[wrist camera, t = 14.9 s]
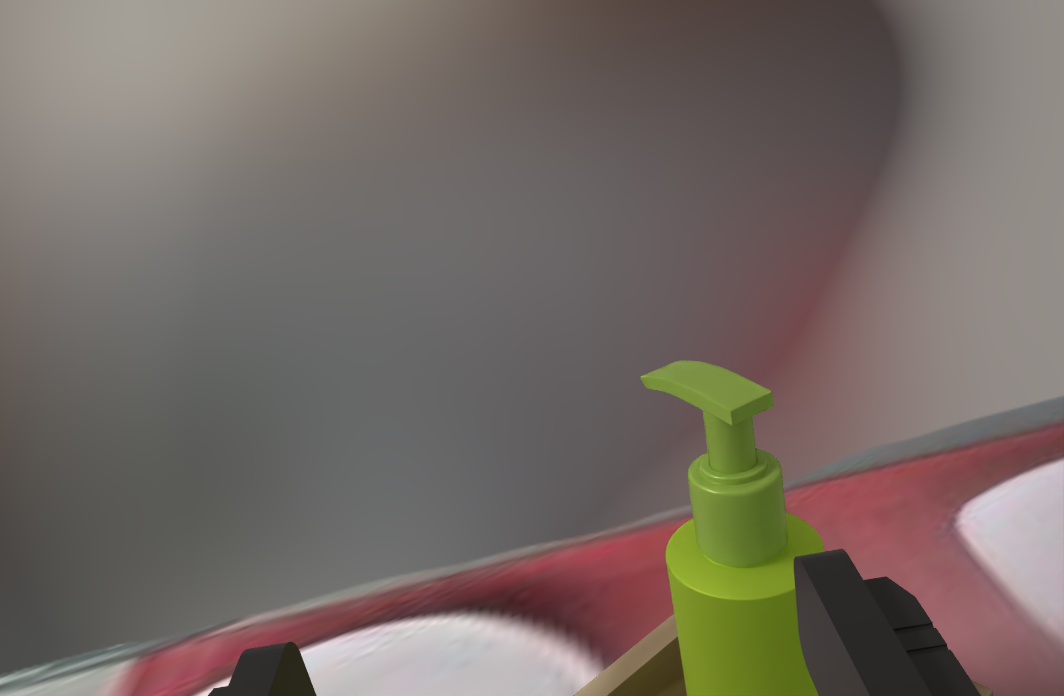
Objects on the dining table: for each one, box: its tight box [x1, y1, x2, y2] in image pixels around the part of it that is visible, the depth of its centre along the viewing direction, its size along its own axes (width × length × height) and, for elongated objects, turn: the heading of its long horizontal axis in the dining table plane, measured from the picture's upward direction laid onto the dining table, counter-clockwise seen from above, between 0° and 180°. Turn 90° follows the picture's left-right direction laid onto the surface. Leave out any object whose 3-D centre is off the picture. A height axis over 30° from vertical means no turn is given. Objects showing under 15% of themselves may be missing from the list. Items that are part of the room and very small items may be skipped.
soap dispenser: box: [640, 361, 824, 696], centre depth 34 cm, size 6×7×20 cm
